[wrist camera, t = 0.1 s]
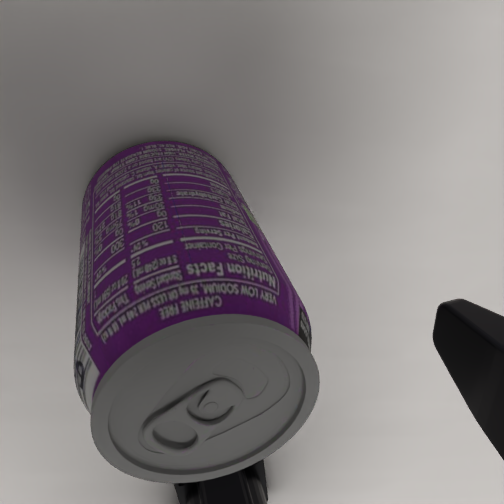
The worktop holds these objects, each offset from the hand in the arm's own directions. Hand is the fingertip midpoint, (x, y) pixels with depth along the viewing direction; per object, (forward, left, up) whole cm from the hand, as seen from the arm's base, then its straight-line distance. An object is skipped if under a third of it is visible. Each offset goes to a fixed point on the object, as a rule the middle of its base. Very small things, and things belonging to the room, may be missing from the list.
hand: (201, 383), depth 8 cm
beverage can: (-4, 0, -15) cm, 16 cm away
